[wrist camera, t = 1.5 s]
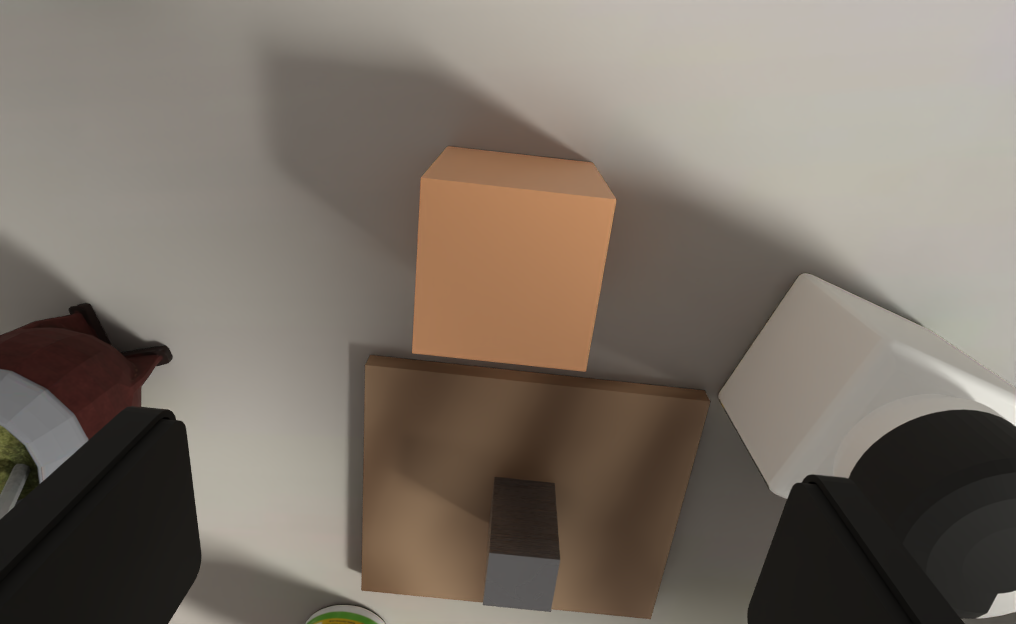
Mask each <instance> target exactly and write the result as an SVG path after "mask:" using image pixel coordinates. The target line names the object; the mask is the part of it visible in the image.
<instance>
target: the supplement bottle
mask: <svg viewBox="0 0 1016 624" xmlns="http://www.w3.org/2000/svg"><path fill="white" fill-rule="evenodd" d="M305 624H385V622H384V621H383V620H382V619H381V618H380V617H378V616H377V615H376V614H374V613H372V612H371V611H369V610H367V609H364V608H361V607H357V606H352V605H335V606H330V607H327V608H324V609H321V610H319V611H317V612H316V613H314V614H313V615H312V616H311V617H310V618H309V619H308V620H307V622H306V623H305Z"/></svg>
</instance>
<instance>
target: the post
mask: <svg viewBox="0 0 1016 624" xmlns="http://www.w3.org/2000/svg"><path fill="white" fill-rule="evenodd" d="M559 564H560V549H559V535H558V521H557V507H556V493H555V483H550V482H541V481H531V480H521V479H511V478H502V477H495V478H494V486H493V494H492V503H491V511H490V519H489V530H488V543H487V556H486V570H485V583H484V596H483V605H488V606H498V607H508V608H518V609H528V610H538V611H548V612H551V608H552V602H553V597H554V592H555V586H556V581H557V575H558V570H559Z"/></svg>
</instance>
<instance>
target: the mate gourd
mask: <svg viewBox="0 0 1016 624" xmlns="http://www.w3.org/2000/svg"><path fill="white" fill-rule="evenodd" d="M69 312H70V314H71V315H67V316H62V317H55V318H49V319H44V320H40V321H35V322H32V323H30V324H27V325H25V326H22V327H20V328H18V329H15V330H13V331H10V332H8V333H5V334H2V335H0V519H1V518H2V517H3V516H5V515H6V514H7V513H8V512H9V511H10V510H11V509H12V508H13V507H15V506H16V505H17V504H18V503H19V502H20V501H21V500H22V499H24V498H25V497H26V496H27V495H28V494H29V493H30V492H31V491H32V490H34V489H35V488H36V487H37V486H38V485H39V484H40V483H41V482H43V481H44V480H45V479H46V478H47V477H48V476H49V475H50V474H51V473H53V472H54V471H55V470H56V469H57V468H58V467H59V466H60V465H61V464H63V463H64V462H65V461H66V460H67V459H68V458H69V457H70V456H72V455H73V454H74V453H75V452H76V451H77V450H78V449H79V448H80V447H82V446H83V445H84V444H85V443H86V442H87V441H88V440H89V439H91V438H92V437H93V436H94V435H95V434H96V433H97V432H98V431H99V430H101V429H102V428H103V427H104V426H105V425H106V424H107V423H108V422H109V421H111V420H112V419H113V418H114V417H115V416H116V415H117V414H118V413H120V412H121V411H122V410H123V409H125V408H126V407H130V406H136V407H141V386H142V385H143V384H144V382H145V381H146V380H147V378H148V377H149V376H150V374H151V373H152V371H153V369H154V368H155V367H156V366H160V365H164V364H167V363H169V362H170V361H171V360H172V354H171V352H170V350H169V348H168V347H167V346H157V347H151V348H145V349H139V350H134V351H127V352H119V351H118V350H117V349H116V348H115V347H113V346H112V345H111V344H110V342H109V340H108V338H107V336H106V334H105V332H104V330H103V328H102V326H101V324H100V322H99V320H98V318H97V316H96V314H95V312H94V310H93V308H92V307H91V305H90V304H87V303H85V304H79V305H77V306H73V307H70V308H69Z"/></svg>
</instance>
